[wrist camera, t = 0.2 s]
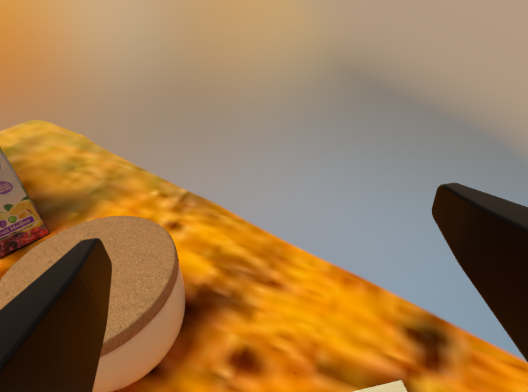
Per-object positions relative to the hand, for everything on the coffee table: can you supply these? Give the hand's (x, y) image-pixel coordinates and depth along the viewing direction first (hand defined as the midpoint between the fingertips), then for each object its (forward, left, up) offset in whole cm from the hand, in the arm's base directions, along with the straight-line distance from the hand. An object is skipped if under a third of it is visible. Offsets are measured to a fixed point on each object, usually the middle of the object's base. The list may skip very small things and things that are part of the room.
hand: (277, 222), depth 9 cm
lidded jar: (+9, +10, -17) cm, 22 cm away
